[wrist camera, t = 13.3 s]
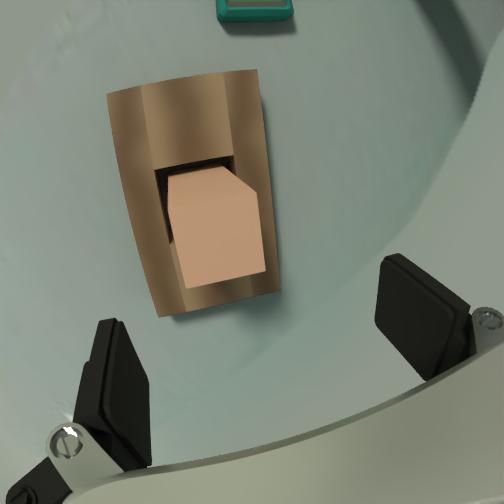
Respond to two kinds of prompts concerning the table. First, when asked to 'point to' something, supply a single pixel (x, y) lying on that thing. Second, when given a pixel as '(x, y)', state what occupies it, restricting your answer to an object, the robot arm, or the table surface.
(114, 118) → the wooden peg hole block
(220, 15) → the digital multimeter
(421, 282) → the robot arm
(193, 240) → the square peg
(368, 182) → the table surface
